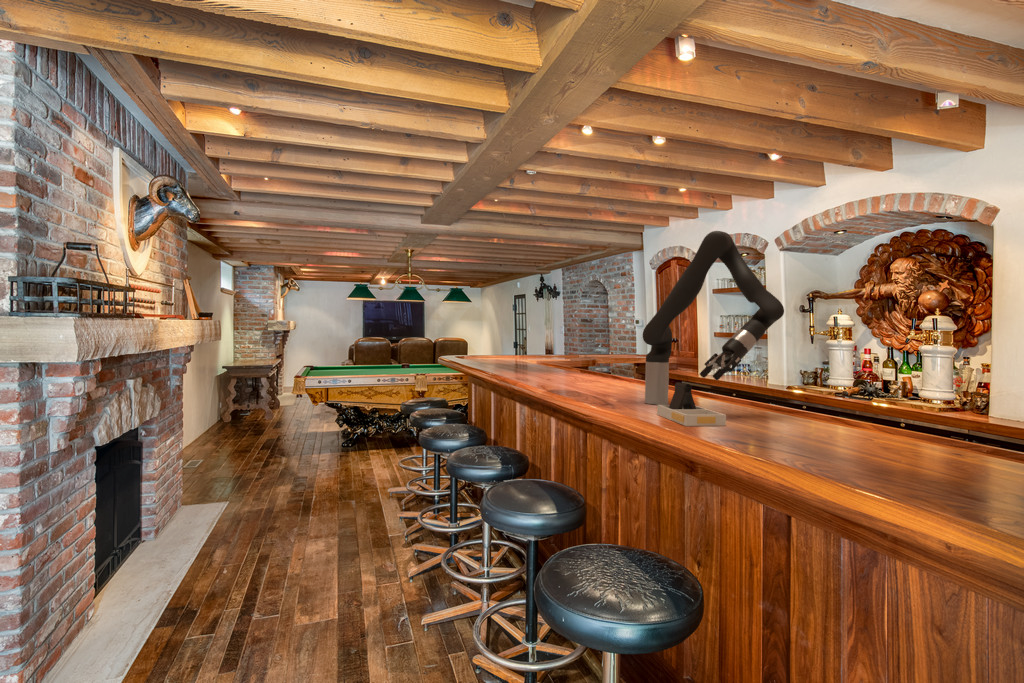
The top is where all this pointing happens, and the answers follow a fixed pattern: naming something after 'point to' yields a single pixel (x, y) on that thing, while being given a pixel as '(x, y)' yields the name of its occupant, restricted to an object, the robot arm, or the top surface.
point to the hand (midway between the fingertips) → (708, 377)
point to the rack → (692, 416)
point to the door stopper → (682, 397)
